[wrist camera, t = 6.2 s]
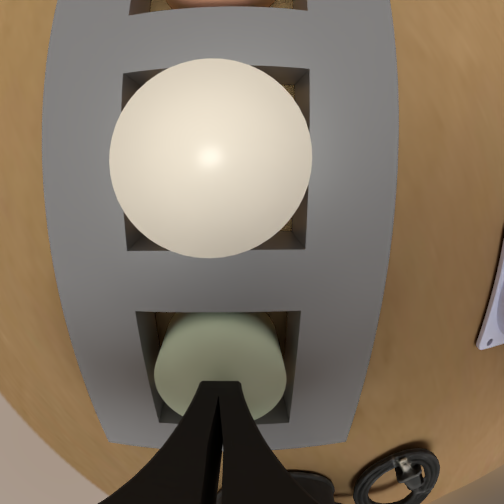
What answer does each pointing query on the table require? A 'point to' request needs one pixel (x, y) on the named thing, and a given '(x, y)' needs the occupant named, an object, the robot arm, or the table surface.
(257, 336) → the button sage
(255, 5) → the button terracotta
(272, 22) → the button board
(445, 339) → the table surface
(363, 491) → the milk frother
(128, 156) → the button cream
